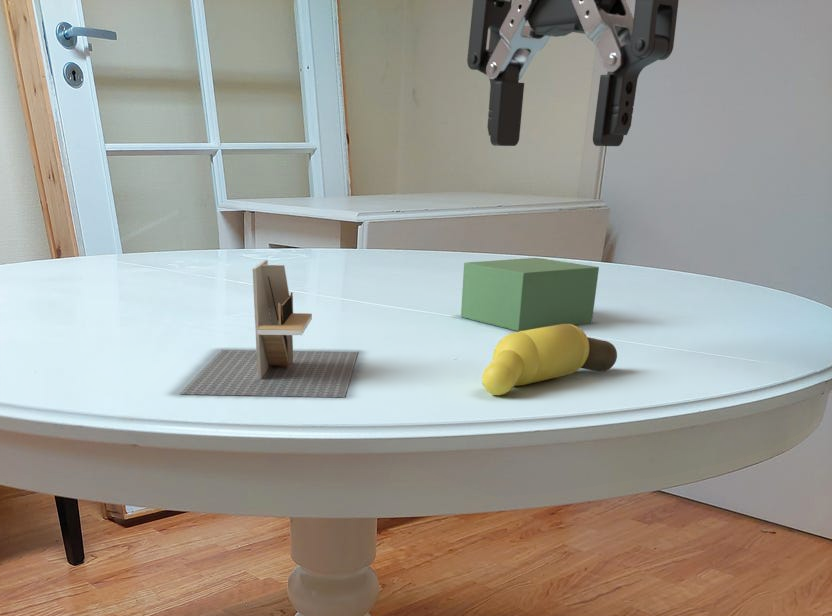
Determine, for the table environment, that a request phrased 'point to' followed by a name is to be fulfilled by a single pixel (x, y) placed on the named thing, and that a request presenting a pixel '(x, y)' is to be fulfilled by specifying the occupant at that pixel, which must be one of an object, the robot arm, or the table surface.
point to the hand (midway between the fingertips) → (552, 145)
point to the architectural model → (275, 352)
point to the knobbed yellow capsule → (545, 356)
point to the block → (528, 293)
